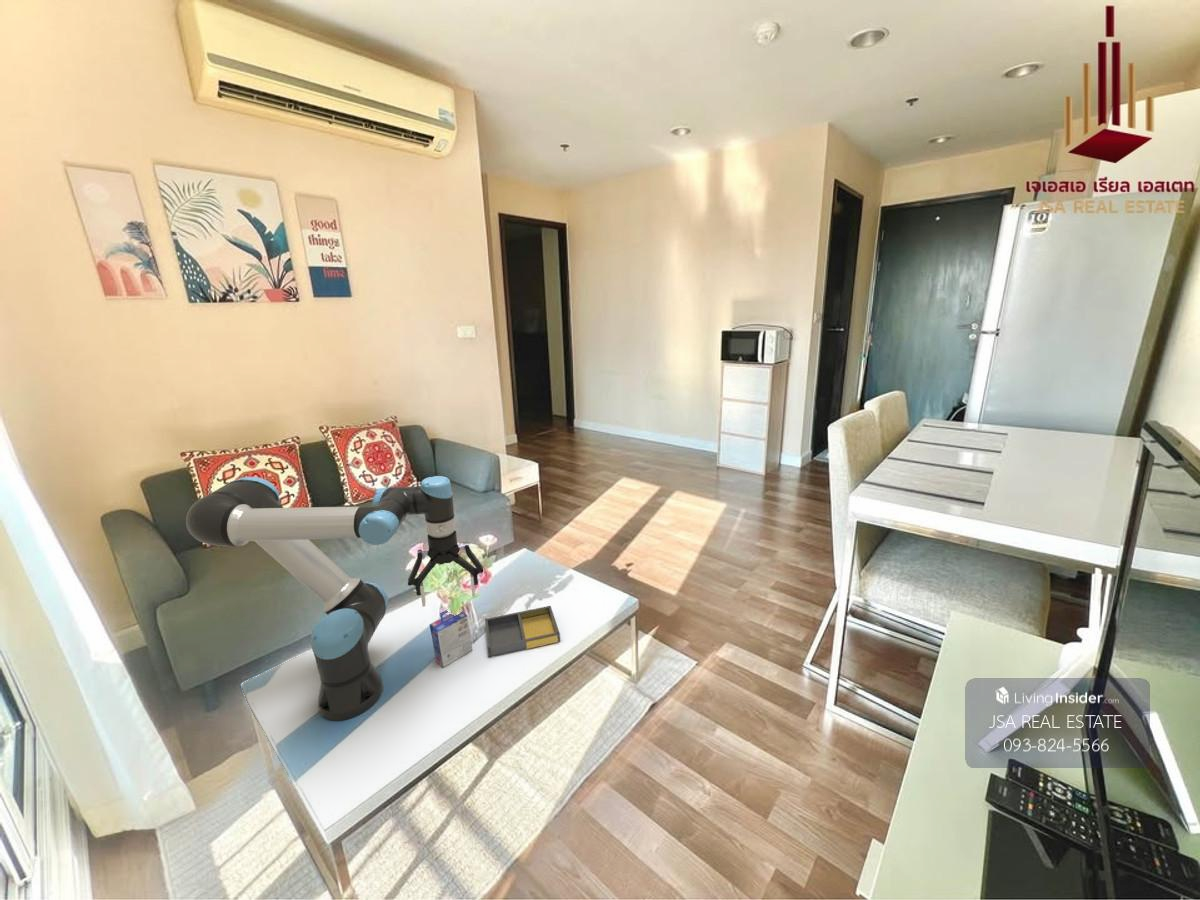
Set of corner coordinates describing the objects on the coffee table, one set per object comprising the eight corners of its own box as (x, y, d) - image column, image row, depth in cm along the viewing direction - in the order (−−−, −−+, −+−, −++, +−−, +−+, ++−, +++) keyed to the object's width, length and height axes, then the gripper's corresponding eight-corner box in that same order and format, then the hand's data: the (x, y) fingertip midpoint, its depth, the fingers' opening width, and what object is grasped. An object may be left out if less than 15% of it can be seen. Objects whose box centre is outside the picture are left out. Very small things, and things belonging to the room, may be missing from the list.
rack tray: (489, 658, 136) (488, 649, 135) (485, 626, 149) (484, 618, 148) (560, 642, 141) (559, 634, 140) (551, 613, 155) (550, 605, 154)
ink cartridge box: (463, 641, 143) (458, 601, 139) (473, 650, 139) (468, 608, 135) (433, 658, 136) (427, 617, 132) (443, 668, 132) (436, 625, 128)
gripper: (391, 545, 119) (401, 615, 125) (489, 530, 127) (494, 597, 133) (393, 533, 126) (403, 600, 132) (486, 519, 134) (491, 583, 140)
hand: (449, 599), depth 133 cm, fingers open, 13 cm apart
